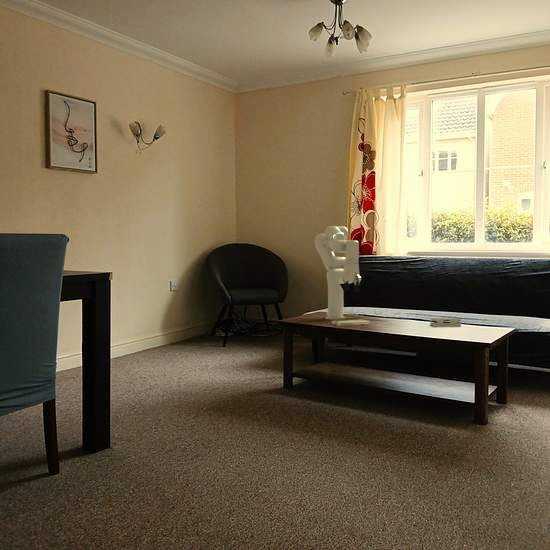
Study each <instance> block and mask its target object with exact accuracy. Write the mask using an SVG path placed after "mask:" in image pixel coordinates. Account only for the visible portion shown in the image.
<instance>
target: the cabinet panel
mask: <svg viewBox="0 0 550 550" xmlns="http://www.w3.org/2000/svg"><path fill="white" fill-rule="evenodd" d="M331 322H332V325H334V326H337V327H339V326H340V327H347V326H348V327H349V326H350V325H351V326H361V324H364V325H371V324H372V323H371V320H366V319H362V316H356V317H355V316H353V317H352V316H351V317H346V318H333V319H332V320H331ZM351 326H350V327H351Z"/></svg>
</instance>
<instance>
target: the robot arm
mask: <svg viewBox="0 0 550 550" xmlns="http://www.w3.org/2000/svg"><path fill="white" fill-rule="evenodd" d="M348 237H349V230H348V228H347V227H346V226H344V225H329V226H327V227H326V229H325V230H324V233H319V234H317V235H315V236H314V247H315V249H316V251H317V253H318V254H319V256H320V258H321V261H322V262H323V265H324V267H325V270H326V271H327V272H326V280H327V312H326V313H325V314H326V315H327V316H325V319H326V320H331V321H332V319H333V318H347V317H346V316H344V292H345V291H346V292H347V291H350V284H352V283H353V292H354V293H359V292H360V285H361V284H360V283H361V280H362V277H361V276H360V266H359V259H360V258H359V253H360V251H359V250H360V249H359V245H360V244H359V243H360V242H359V241H358V240H353V239H348ZM335 253H336V254H337V253H338V254H339V253H341V254H343V253H344V254H345V255H344V256H336V255H335ZM342 284H343V285H344V286H343V288H342V286H341V285H342Z"/></svg>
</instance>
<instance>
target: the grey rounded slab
mask: <svg viewBox="0 0 550 550" xmlns="http://www.w3.org/2000/svg"><path fill="white" fill-rule="evenodd" d="M461 320H462V319H461V317H459V318H457V317H456V318H450V317H449V318H448V317H447V318H430V319H429V321H430V323H429V324H430V325H429V326H432V327H433V326H434V328H441V327H442V328H447V327H448V328H453V327H454V328H457V327H458V328H459V327H460V326H462V322H461ZM460 328H461V327H460Z"/></svg>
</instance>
